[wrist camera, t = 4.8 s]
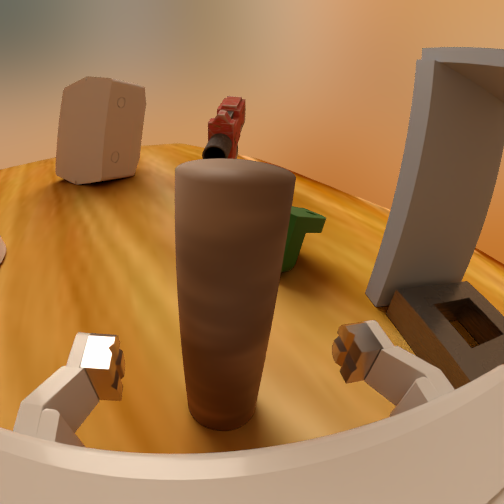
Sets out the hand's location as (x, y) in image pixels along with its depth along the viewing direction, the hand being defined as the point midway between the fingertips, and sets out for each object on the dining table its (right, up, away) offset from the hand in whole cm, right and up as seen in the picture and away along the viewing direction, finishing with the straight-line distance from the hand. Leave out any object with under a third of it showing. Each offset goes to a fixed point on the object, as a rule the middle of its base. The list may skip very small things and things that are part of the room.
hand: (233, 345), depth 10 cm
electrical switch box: (-28, +19, +42) cm, 54 cm away
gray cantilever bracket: (+17, -4, +9) cm, 20 cm away
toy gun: (-4, +14, +39) cm, 42 cm away
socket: (+17, -4, +9) cm, 20 cm away
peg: (-1, -5, +4) cm, 6 cm away
